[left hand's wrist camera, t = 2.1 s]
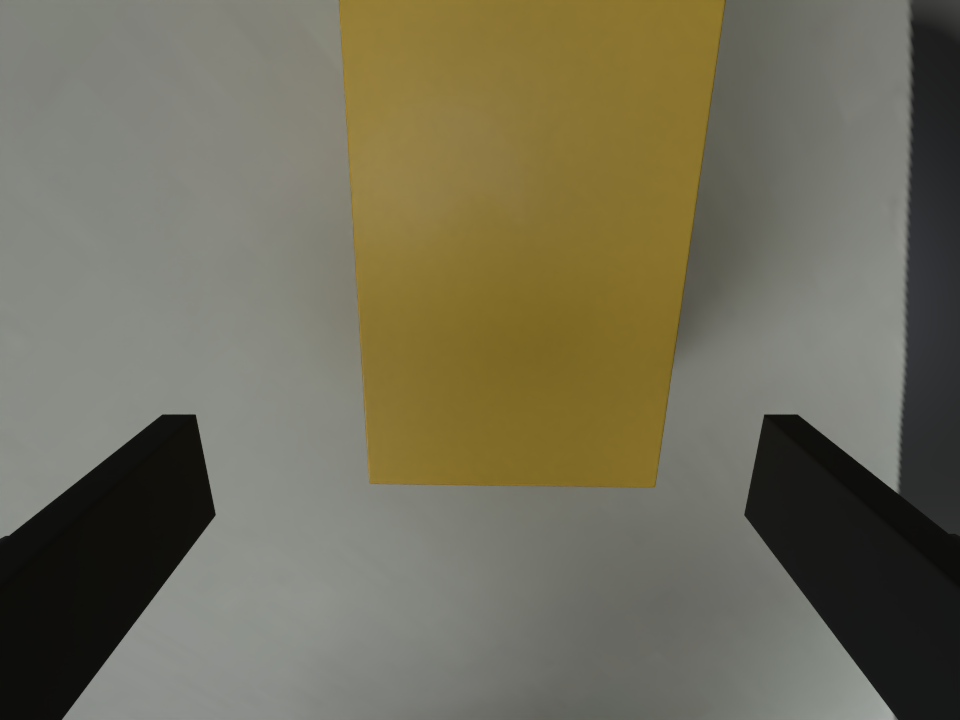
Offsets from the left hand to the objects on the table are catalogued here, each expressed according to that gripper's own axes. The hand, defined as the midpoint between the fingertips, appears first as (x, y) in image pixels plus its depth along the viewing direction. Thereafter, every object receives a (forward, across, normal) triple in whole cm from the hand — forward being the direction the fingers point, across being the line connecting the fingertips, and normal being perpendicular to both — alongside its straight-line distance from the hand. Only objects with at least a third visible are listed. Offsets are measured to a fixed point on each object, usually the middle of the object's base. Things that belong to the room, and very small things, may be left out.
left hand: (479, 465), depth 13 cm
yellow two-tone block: (+15, -1, -4) cm, 16 cm away
